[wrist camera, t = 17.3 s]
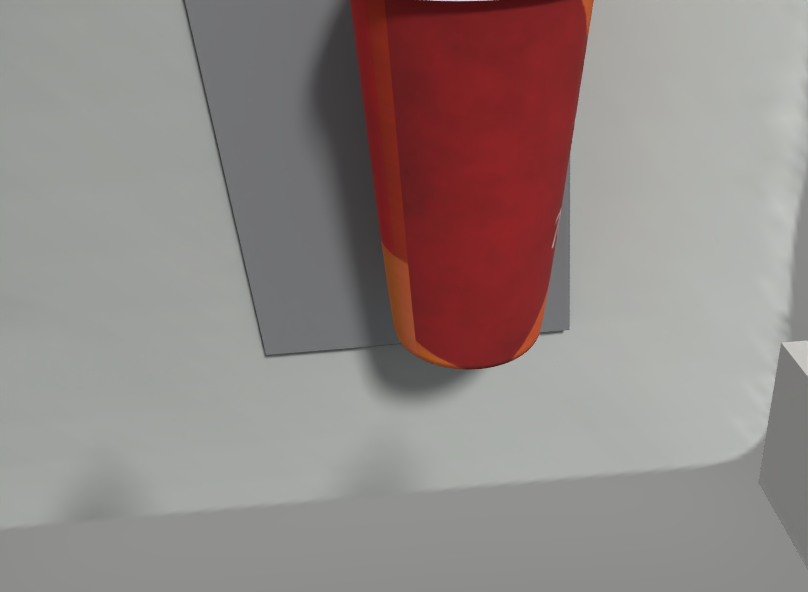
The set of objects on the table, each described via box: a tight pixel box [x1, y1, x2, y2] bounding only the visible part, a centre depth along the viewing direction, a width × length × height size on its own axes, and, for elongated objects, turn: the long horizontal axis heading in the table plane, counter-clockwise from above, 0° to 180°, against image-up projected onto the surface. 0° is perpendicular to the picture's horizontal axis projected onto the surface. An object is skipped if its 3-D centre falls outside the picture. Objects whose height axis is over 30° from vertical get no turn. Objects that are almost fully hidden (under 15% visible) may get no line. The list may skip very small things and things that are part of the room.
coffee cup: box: [350, 0, 594, 369], centre depth 27 cm, size 8×8×15 cm
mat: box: [185, 0, 570, 355], centre depth 30 cm, size 14×22×1 cm, turn 6°
